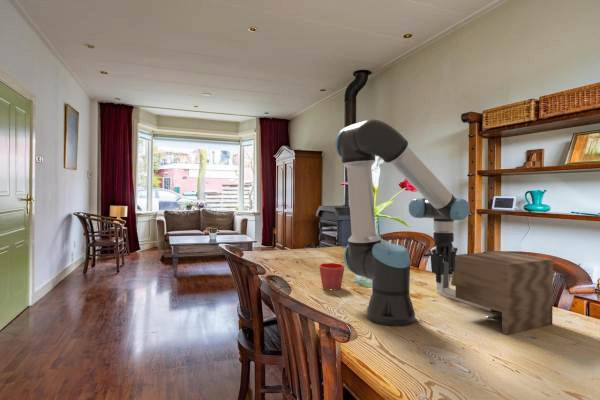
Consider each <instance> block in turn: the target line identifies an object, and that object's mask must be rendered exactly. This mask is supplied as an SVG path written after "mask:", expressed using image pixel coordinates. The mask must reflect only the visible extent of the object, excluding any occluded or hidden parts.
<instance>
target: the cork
mask: <svg viewBox="0 0 600 400" xmlns="http://www.w3.org/2000/svg"><path fill="white" fill-rule="evenodd" d="M450 285H452V286H455V287H456V260H455V271H454V272H453V274H451V278H450Z"/></svg>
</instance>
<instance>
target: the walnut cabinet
mask: <svg viewBox="0 0 600 400" xmlns="http://www.w3.org/2000/svg"><path fill="white" fill-rule="evenodd" d="M553 285H554V259H552V258H546V257H540V256H535V255H527V254H521V253H513V252H508V251H503V250H502V251H501V250H495V251H485V252H476V253H475V252H474V253H464V254H456V286H455V290H456V298H459V299H462V300H465V301H468V302H471V303H474V304H478V305H481V306H484V307H487V308H490V309H493V310H496V312H500V313H501V316H502V321H501V334H502V335H506V336H508V335H513V334H517V333H521V332H524V331H530V330H533V329H538V328H542V327H546V326H550V325H553V310H554V309H553V302H554V300H553V296H554V295H553V293H554V292H553V291H554V288H553V287H554V286H553Z"/></svg>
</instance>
